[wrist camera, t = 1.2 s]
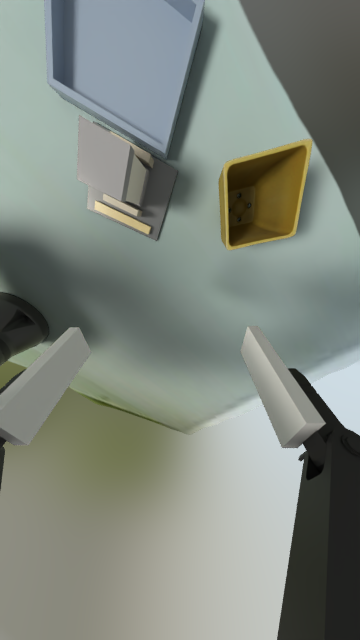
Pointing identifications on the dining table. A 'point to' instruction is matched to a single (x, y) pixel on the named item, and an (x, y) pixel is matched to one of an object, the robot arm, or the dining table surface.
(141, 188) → the block
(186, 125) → the dining table surface
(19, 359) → the dining table surface
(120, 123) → the tray
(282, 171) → the flower pot
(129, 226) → the block
